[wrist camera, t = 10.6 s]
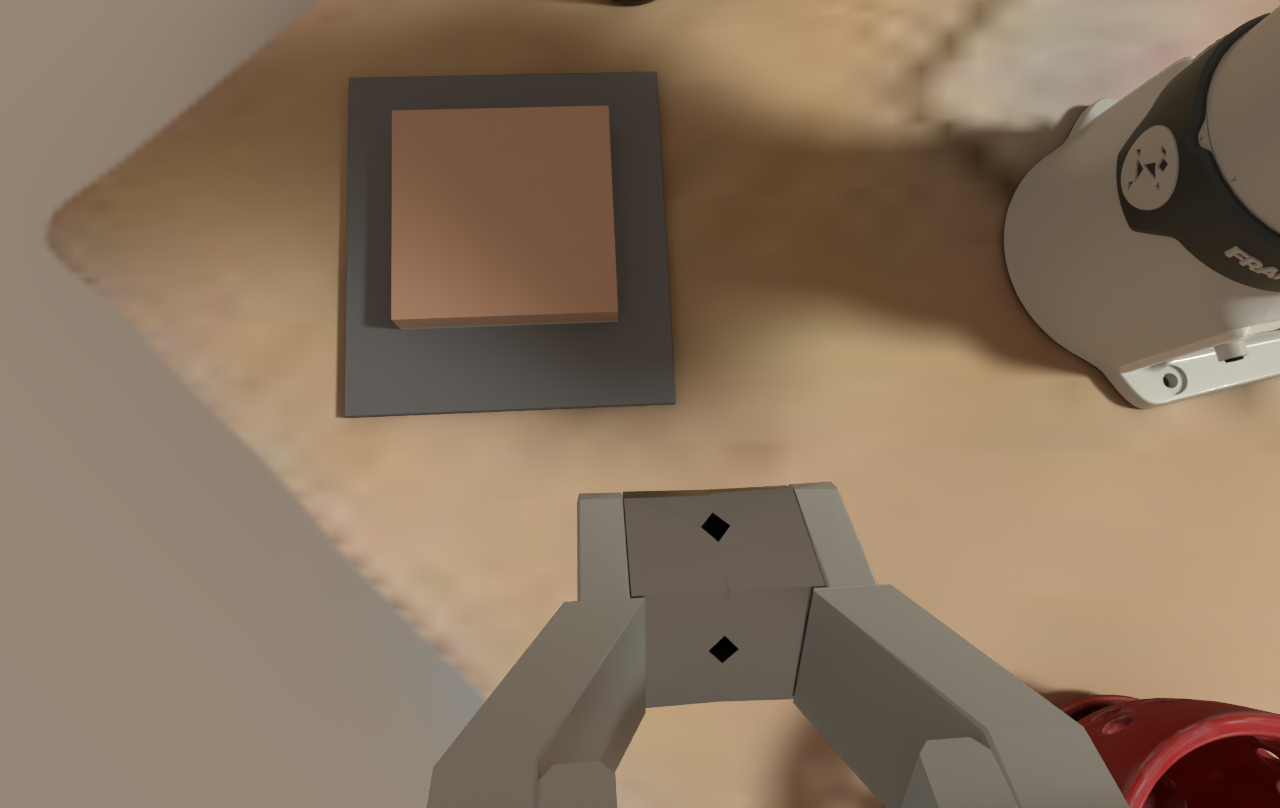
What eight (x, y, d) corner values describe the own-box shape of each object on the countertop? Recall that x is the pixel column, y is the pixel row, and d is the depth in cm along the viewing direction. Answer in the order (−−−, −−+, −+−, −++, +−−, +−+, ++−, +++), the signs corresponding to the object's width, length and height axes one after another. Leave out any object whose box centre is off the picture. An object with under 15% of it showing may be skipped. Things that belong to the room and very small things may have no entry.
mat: (655, 77, 48) (656, 71, 48) (674, 404, 45) (675, 402, 44) (352, 84, 47) (348, 78, 47) (348, 417, 44) (344, 416, 43)
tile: (617, 321, 45) (608, 123, 47) (617, 311, 43) (608, 105, 45) (400, 329, 44) (401, 128, 46) (391, 319, 42) (392, 110, 44)
